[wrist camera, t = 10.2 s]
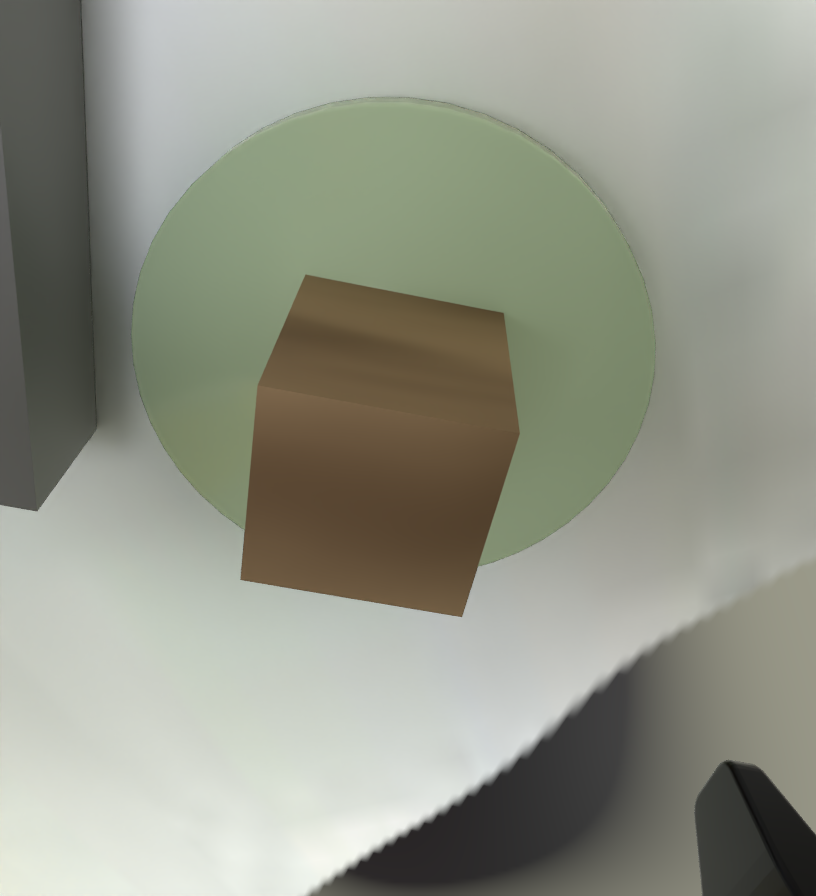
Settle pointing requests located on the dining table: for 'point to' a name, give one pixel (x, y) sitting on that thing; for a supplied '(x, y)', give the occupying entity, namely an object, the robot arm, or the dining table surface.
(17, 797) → the dining table surface
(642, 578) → the dining table surface
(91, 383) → the gray rectangular frame
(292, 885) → the dining table surface
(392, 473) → the walnut block
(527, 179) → the plate
